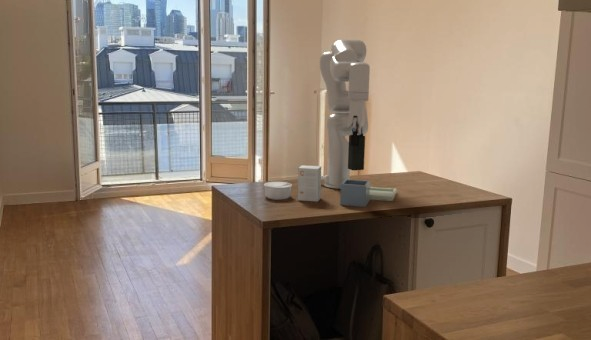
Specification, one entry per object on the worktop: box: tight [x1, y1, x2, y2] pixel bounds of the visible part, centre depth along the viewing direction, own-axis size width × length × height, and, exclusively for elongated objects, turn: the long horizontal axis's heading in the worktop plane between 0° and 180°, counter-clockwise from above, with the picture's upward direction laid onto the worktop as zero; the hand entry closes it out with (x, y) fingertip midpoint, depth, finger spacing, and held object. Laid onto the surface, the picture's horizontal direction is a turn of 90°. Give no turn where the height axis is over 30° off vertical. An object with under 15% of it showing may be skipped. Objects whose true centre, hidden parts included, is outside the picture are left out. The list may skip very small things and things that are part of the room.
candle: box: [348, 126, 366, 171], centre depth 226 cm, size 5×5×25 cm
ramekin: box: [263, 181, 293, 201], centre depth 238 cm, size 11×11×5 cm
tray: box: [369, 186, 397, 202], centre depth 243 cm, size 15×15×2 cm
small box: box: [297, 164, 322, 203], centre depth 234 cm, size 8×6×13 cm
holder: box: [339, 179, 371, 208], centre depth 230 cm, size 10×10×8 cm
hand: (356, 143), depth 227 cm, fingers closed on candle, 6 cm apart
